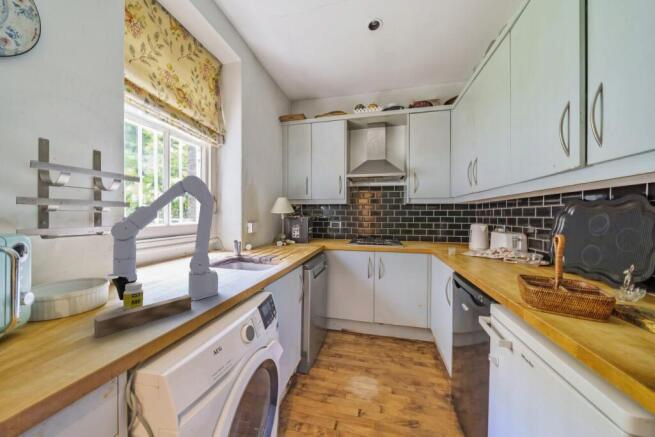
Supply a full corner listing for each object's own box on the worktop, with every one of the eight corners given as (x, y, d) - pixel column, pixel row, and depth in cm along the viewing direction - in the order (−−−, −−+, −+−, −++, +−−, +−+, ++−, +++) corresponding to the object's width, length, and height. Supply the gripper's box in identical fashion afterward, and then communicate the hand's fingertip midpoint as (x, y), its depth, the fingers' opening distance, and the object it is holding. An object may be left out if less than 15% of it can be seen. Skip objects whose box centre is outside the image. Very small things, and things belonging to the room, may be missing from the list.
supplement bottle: (131, 314, 71) (132, 286, 71) (118, 312, 72) (119, 285, 72) (146, 308, 75) (147, 282, 75) (134, 307, 76) (135, 281, 76)
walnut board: (186, 307, 77) (186, 294, 77) (191, 309, 76) (191, 296, 76) (94, 334, 59) (94, 318, 59) (97, 337, 57) (97, 321, 57)
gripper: (101, 257, 78) (101, 298, 78) (116, 262, 70) (116, 308, 70) (128, 254, 84) (127, 292, 84) (145, 259, 76) (144, 301, 76)
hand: (124, 299), depth 78 cm, fingers closed
